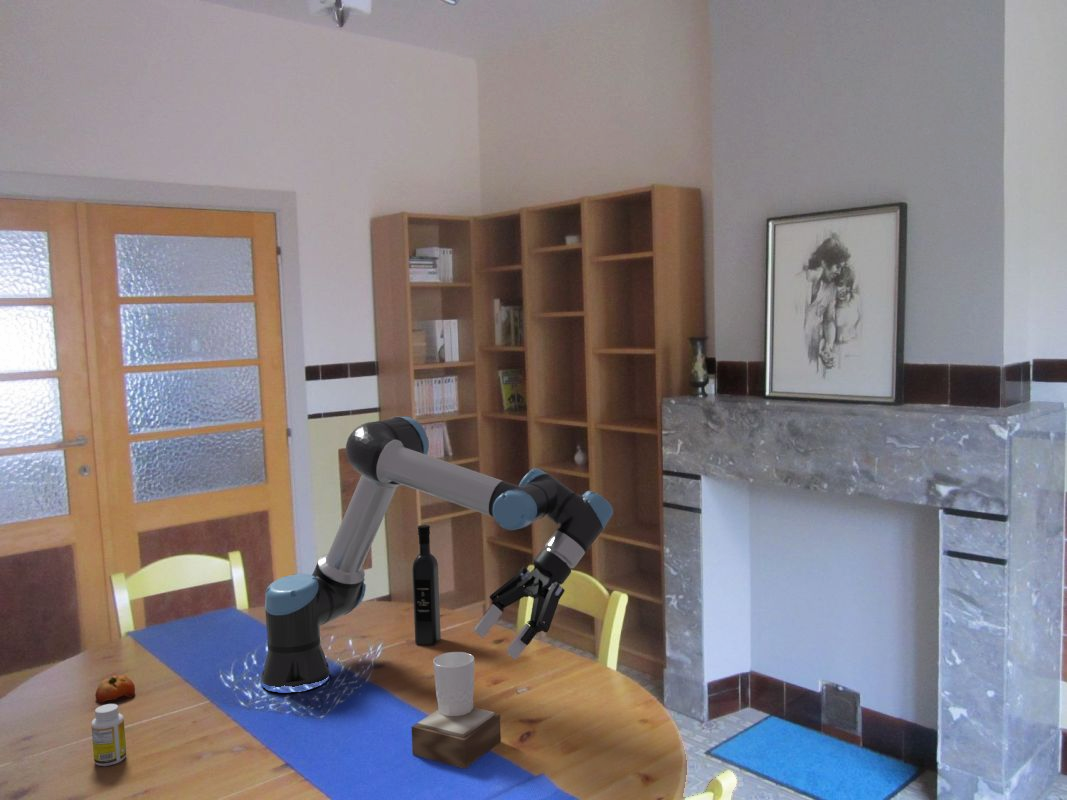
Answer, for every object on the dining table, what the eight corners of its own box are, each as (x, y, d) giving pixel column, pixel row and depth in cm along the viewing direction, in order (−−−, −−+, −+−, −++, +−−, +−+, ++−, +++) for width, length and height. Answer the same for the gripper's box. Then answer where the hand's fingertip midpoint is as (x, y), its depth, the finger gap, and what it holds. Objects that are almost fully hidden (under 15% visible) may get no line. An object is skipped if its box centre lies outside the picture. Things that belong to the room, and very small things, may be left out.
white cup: (468, 720, 168) (466, 668, 167) (428, 716, 170) (426, 665, 169) (481, 702, 176) (479, 653, 175) (443, 699, 178) (442, 650, 177)
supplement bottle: (118, 750, 173) (114, 699, 172) (131, 758, 169) (128, 706, 168) (88, 761, 168) (85, 709, 168) (102, 770, 165) (98, 717, 164)
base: (412, 754, 168) (411, 723, 167) (449, 728, 178) (448, 699, 177) (465, 769, 162) (464, 737, 161) (500, 741, 172) (499, 711, 171)
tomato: (83, 694, 197) (105, 664, 200) (105, 705, 202) (126, 675, 205) (104, 707, 192) (125, 676, 196) (126, 718, 197) (146, 687, 201)
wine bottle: (435, 646, 224) (431, 528, 222) (414, 645, 225) (409, 528, 223) (441, 638, 230) (437, 523, 228) (420, 637, 231) (416, 523, 229)
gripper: (603, 585, 173) (537, 676, 167) (538, 556, 194) (477, 635, 188) (580, 562, 170) (512, 654, 164) (516, 535, 191) (454, 615, 185)
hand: (493, 644), depth 176 cm, fingers open, 13 cm apart
